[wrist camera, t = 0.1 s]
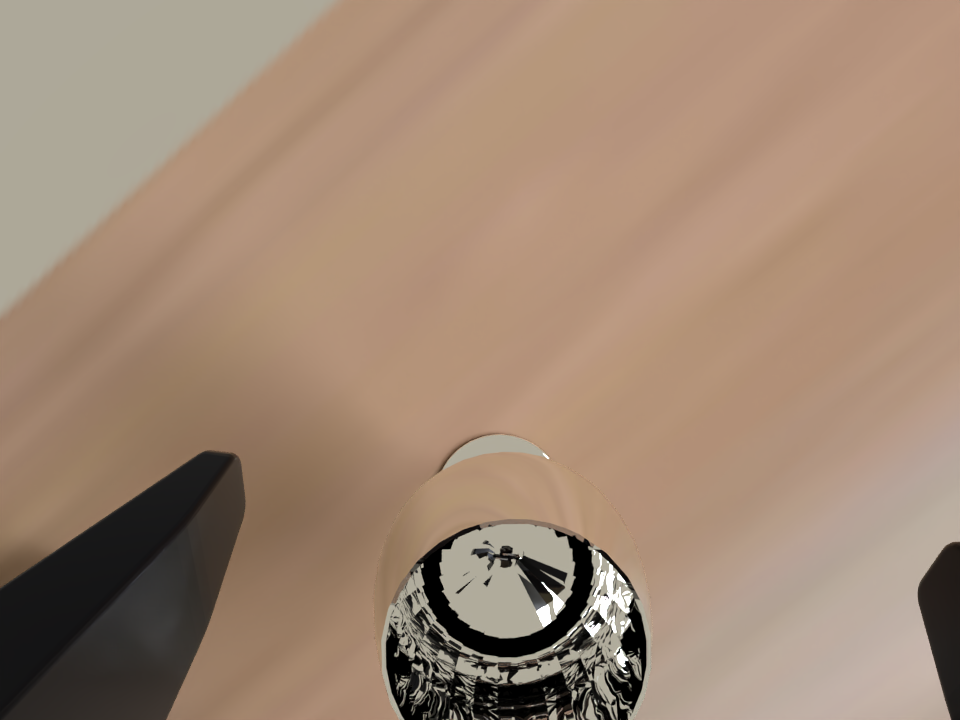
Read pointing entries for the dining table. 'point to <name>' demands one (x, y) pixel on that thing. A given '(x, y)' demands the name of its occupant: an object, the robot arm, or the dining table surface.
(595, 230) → the dining table surface
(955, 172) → the dining table surface
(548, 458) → the wineglass
